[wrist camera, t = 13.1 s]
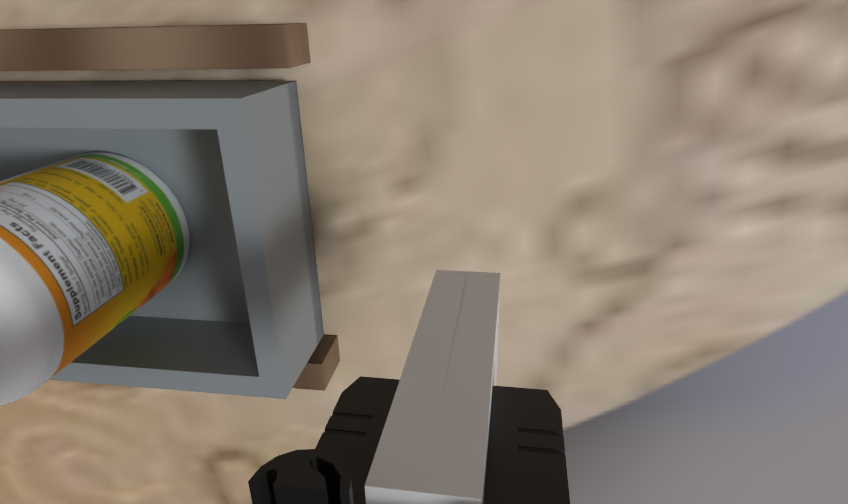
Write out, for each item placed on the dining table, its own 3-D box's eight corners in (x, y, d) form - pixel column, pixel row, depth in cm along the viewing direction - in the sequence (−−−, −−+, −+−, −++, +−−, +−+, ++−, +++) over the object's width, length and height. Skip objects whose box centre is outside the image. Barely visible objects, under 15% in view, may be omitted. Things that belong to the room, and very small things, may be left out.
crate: (19, 314, 24) (-70, 369, 20) (-65, 82, 20) (-194, 98, 16) (324, 334, 22) (285, 399, 18) (296, 80, 18) (240, 98, 14)
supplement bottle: (99, 298, 22) (-186, 496, 13) (28, 168, 20) (-362, 295, 11) (217, 274, 20) (-8, 475, 12) (154, 132, 18) (-173, 244, 10)
